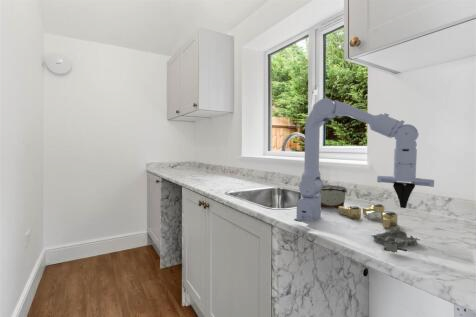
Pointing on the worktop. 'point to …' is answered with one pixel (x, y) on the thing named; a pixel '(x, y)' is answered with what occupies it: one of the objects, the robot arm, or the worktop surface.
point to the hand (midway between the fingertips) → (403, 207)
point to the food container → (332, 196)
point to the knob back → (374, 208)
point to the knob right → (389, 219)
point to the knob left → (350, 212)
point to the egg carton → (390, 240)
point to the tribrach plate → (373, 215)
